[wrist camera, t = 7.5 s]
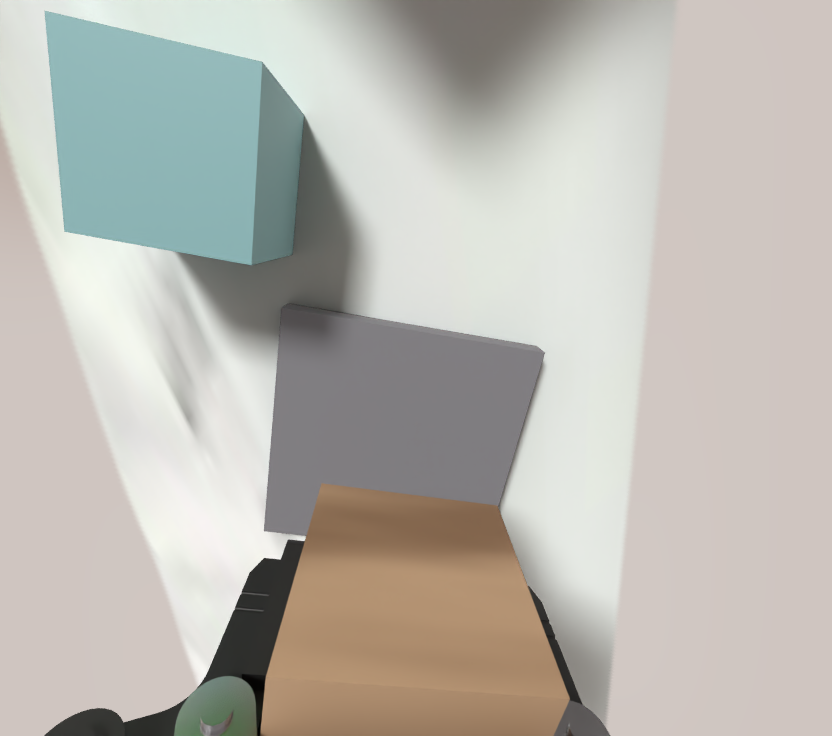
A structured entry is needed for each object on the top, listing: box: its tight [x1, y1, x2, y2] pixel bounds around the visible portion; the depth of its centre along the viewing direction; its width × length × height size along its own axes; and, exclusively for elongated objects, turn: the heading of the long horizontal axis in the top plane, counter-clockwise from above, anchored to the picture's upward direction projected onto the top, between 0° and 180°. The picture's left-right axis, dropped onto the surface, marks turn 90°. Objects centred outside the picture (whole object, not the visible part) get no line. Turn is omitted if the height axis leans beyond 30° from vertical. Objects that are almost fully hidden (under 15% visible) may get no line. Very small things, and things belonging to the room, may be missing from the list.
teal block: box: [45, 11, 304, 265], centre depth 13 cm, size 5×5×5 cm
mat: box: [264, 304, 545, 536], centre depth 19 cm, size 11×11×1 cm
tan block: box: [260, 483, 570, 736], centre depth 10 cm, size 5×5×5 cm
